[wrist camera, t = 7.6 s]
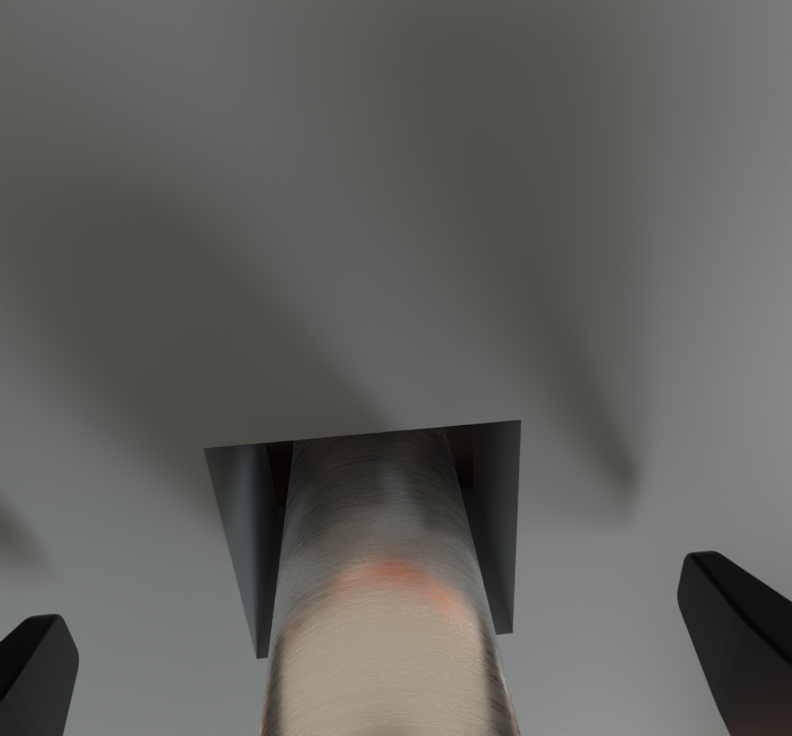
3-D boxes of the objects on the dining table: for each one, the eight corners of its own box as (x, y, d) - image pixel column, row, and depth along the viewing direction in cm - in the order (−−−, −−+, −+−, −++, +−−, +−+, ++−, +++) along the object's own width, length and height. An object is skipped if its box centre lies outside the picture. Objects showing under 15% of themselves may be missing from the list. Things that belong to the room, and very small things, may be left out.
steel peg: (437, 344, 13) (579, 850, 5) (440, 463, 14) (556, 1001, 7) (288, 357, 13) (199, 890, 5) (307, 475, 14) (261, 1034, 6)
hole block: (1020, -73, 10) (1377, -121, 7) (785, 620, 18) (893, 767, 14) (-422, 24, 9) (-876, 27, 6) (-19, 702, 17) (-112, 877, 14)
